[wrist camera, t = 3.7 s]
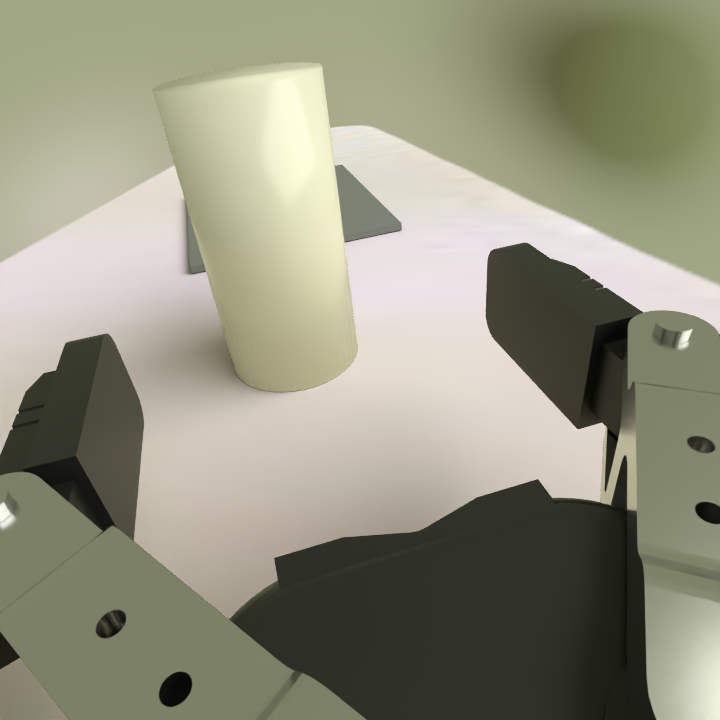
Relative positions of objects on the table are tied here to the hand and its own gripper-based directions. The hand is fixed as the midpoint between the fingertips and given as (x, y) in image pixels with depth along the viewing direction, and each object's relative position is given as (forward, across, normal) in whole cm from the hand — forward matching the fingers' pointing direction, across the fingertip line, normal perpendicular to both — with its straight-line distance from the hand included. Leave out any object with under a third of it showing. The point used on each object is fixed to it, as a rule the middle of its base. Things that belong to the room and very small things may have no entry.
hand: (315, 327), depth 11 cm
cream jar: (+8, 0, +6) cm, 10 cm away
